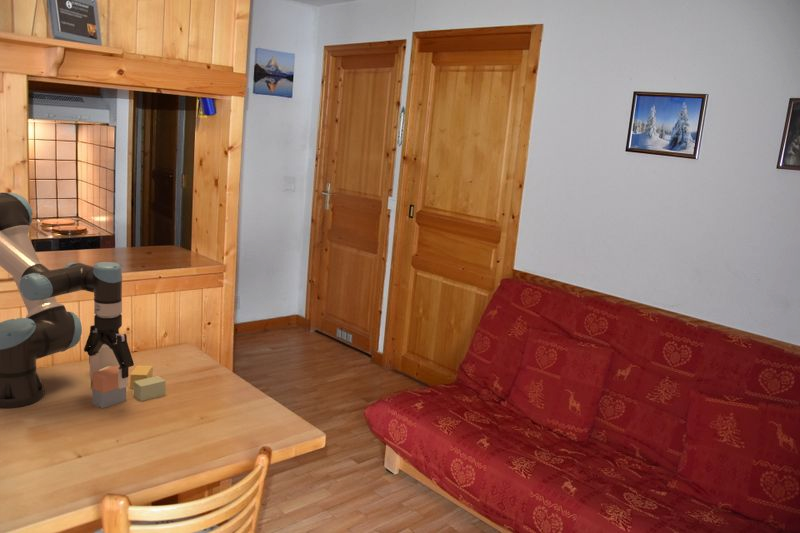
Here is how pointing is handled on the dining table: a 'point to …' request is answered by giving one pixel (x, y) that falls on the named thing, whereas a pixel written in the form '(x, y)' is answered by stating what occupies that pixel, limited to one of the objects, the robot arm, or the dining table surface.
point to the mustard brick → (140, 374)
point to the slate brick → (108, 397)
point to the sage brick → (149, 388)
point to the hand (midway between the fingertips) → (108, 381)
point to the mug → (107, 357)
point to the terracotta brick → (106, 379)
